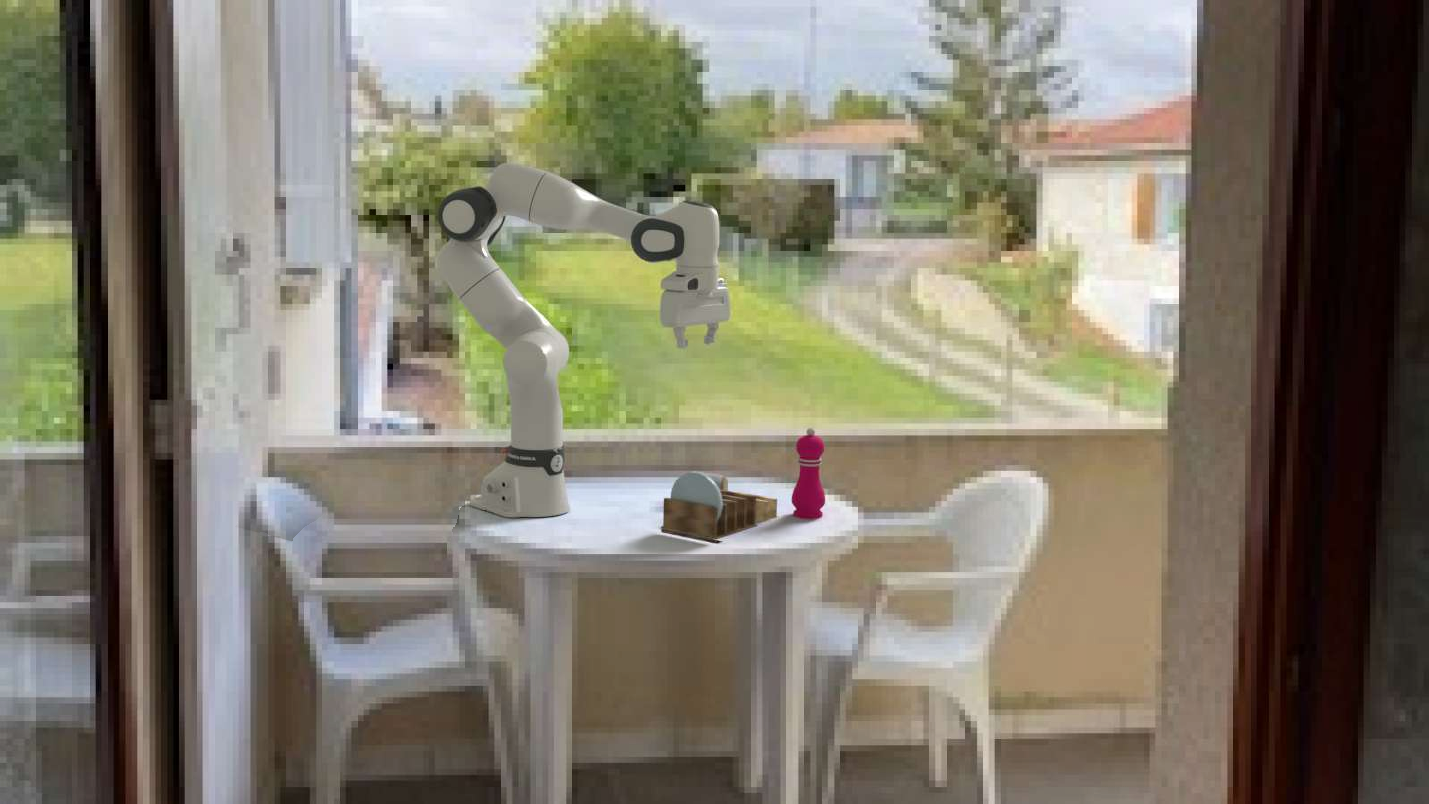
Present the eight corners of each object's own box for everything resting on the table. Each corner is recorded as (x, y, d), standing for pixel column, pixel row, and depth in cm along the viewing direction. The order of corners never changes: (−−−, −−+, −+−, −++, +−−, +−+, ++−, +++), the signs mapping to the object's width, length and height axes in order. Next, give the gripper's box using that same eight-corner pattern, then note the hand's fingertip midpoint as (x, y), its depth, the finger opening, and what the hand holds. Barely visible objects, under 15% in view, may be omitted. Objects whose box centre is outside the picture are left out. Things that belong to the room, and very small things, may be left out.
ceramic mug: (723, 510, 320) (724, 476, 319) (686, 508, 321) (687, 474, 320) (730, 501, 330) (731, 467, 329) (694, 498, 332) (695, 465, 330)
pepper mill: (783, 519, 314) (786, 427, 311) (806, 514, 319) (809, 423, 316) (809, 525, 309) (812, 432, 306) (831, 520, 314) (835, 428, 311)
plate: (668, 524, 300) (672, 467, 298) (673, 523, 302) (677, 466, 299) (716, 537, 294) (720, 479, 291) (720, 535, 295) (724, 477, 293)
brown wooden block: (724, 518, 313) (725, 495, 312) (740, 513, 318) (741, 491, 317) (763, 526, 307) (764, 502, 306) (779, 520, 312) (780, 498, 311)
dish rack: (661, 532, 300) (661, 497, 299) (702, 519, 312) (703, 486, 311) (716, 543, 292) (717, 508, 291) (757, 530, 304) (758, 496, 303)
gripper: (714, 276, 314) (712, 340, 316) (655, 281, 297) (654, 348, 300) (738, 278, 310) (736, 343, 312) (680, 283, 294) (678, 351, 296)
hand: (695, 346), depth 306 cm, fingers open, 8 cm apart
